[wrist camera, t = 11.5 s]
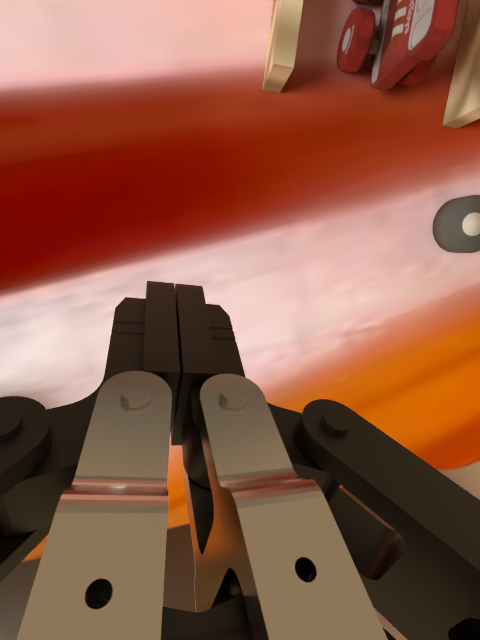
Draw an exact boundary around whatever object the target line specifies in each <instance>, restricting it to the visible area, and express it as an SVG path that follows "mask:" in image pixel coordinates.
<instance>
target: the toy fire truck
mask: <svg viewBox="0 0 480 640" xmlns="http://www.w3.org/2000/svg"><path fill="white" fill-rule="evenodd" d="M352 1H353V2H359V3H363V4H366V3H369V2H370V1H371V0H352ZM458 3H459V0H383V6H382V11H381V17H380V24H379V31H378V37H377V39H376V38H373V35H374V31H375V14H374V12H373V11H372V10H371V9H366V8H362V7H357V8H355V9H354V10H353V11H352V12H351V14H350V15H349V17H348V19H347V21H346V23H345V26H344V29H343V32H342V35H341V39H340V42H339V47H338V54H337V67H338V68H339V69H340V70H341V71H345V72H350V73H355V72H357V71H358V70H359V69H360V68H361V66H362V65H363V63H364V61H365V59H366V56H367V54H368V53H370V54H372V73H371V81H370V82H371V87H372V88H376V89H383V90H388V89H390V88H392V87H393V86H394V85H395V84H396V83H397V82H398V83H400V84H403V85H408V86H416V85H418V84H419V83H421V82H422V81H423V80H424V79H425V77H426V76H427V75H428V73H429V72H430V70H431V68H432V66H433V64H434V62H435V60H436V57H437V54H438V52H439V51H441V50H442V49H443V48H444V47H445V45H446V44H447V43H448V41H449V39H450V37H451V35H452V33H453V30H454V25H455V19H456V14H457V9H458Z"/></svg>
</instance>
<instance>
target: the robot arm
mask: <svg viewBox="0 0 480 640" xmlns="http://www.w3.org/2000/svg"><path fill="white" fill-rule="evenodd" d="M232 329H233V328H232V325H231V321H230V317H229V315H228V314H227V313H226V312H225V311H224V310H223V309H222V308H221V306H220V305H212V304H206V303H205V297H204V292H203V287H202V286H195V285H184V284H176V285H175V288H174V283H164V282H153V281H147V288H146V299H139V298H127V297H126V298H125V299H124V300H123V301H122V302H121V303H120V304H119V305H118V306H117V307H116V308H115V314H114V320H113V327H112V334H111V339H110V345H109V351H108V357H107V363H106V369H105V375H104V379H103V381H102V383H101V385H100V386H99V387H98V389H97V390H96V391H94V392H93V393H92V394H91V395H89V396H88V397H86V398H84V399H82V400H80V401H78V402H75V403H72V404H69V405H65V406H60V407H56V408H52V409H48V410H46V409H45V407H44V406H43V405H42V404H40V403H39V402H37V401H35V400H33V399H30V398H26V397H19V396H9V397H1V398H0V582H1V581H2V580H3V579H4V578H5V577H6V576H7V575H8V574H9V573H10V572H11V571H12V570H13V569H14V568H15V567H16V566H17V565H18V564H19V563H20V562H21V561H22V560H23V559H24V558H25V557H26V556H27V555H28V554H29V553H30V552H31V551H32V550H33V549H34V548H35V547H36V546H37V545H38V544H39V543H40V542H41V541H42V540H43V539H44V538H45V537H46V536H47V535H48V534H49V535H48V538H47V541H46V545H45V548H44V551H43V555H42V558H41V561H40V565H39V568H38V571H37V574H36V578H35V581H34V585H33V588H32V591H31V594H30V598H29V601H28V604H27V608H26V611H25V614H24V617H23V621H22V624H21V627H20V631H19V634H18V637H17V640H396V639H395V638H394V637H393V636H392V635H391V634H390V633H389V632H388V631H386V630H385V629H384V628H383V627H382V626H381V623H380V621H379V619H378V616H377V614H376V612H375V610H374V608H375V609H376V610H377V611H378V612H379V613H380V614H381V615H383V616H384V617H385V618H386V619H387V620H388V621H389V622H390V623H391V624H392V625H393V626H394V627H395V628H396V629H397V630H398V631H399V632H400V633H401V634H402V635H403V636H404V637H405V638H407V639H408V640H480V500H478V499H477V498H476V497H474V496H473V495H472V494H470V493H469V492H467V491H466V490H464V489H463V488H461V487H460V486H459V485H457V484H456V483H454V482H453V481H452V480H450V479H449V478H447V477H446V476H445V475H443V474H442V473H440V472H439V471H437V470H436V469H435V468H433V467H432V466H430V465H429V464H428V463H426V462H425V461H423V460H422V459H420V458H419V457H418V456H416V455H415V454H413V453H412V452H411V451H409V450H408V449H406V448H405V447H403V446H402V445H401V444H399V443H398V442H396V441H395V440H394V439H392V438H391V437H389V436H388V435H386V434H385V433H384V432H382V431H381V430H379V429H378V428H376V427H375V426H374V425H372V424H371V423H369V422H368V421H367V420H365V419H364V418H362V417H361V416H359V415H358V414H357V413H355V412H354V411H352V410H351V409H349V408H348V407H346V406H345V405H343V404H341V403H338V402H335V401H332V400H326V399H319V400H314V401H312V402H310V403H308V404H307V405H306V406H305V408H304V410H303V412H302V413H299V412H295V411H292V410H288V409H284V408H281V407H277V406H274V405H272V404H270V403H267V401H266V399H265V396H264V394H263V392H262V391H261V389H260V388H259V387H258V386H257V385H256V384H255V383H254V382H252V381H251V380H249V379H247V378H245V374H244V370H243V366H242V362H241V359H240V355H239V351H238V347H237V343H236V341H235V336H234V332H233V331H232ZM170 432H171V445H182V449H183V463H184V471H183V479H184V486H185V493H186V500H187V507H188V514H189V521H190V528H191V535H192V542H193V550H194V557H195V603H196V612H189V611H183V610H178V609H172V608H167V607H163V587H164V571H165V551H166V535H167V518H168V490H167V473H168V457H169V440H170ZM340 485H342V486H343V487H344V488H345V489H347V490H348V491H349V492H351V493H352V494H353V495H354V496H355V497H356V498H358V499H359V500H360V501H361V502H363V503H364V504H365V505H366V506H368V507H369V508H370V509H371V510H372V511H373V512H375V513H376V514H377V515H378V516H379V517H381V518H382V519H383V520H384V521H386V522H387V523H388V524H389V525H390V526H392V527H393V528H394V529H395V530H392V529H390V528H388V527H386V526H385V525H383V524H382V523H381V522H380V521H378V520H377V519H376V518H375V517H373V516H372V515H371V514H370V513H369V512H368V511H366V510H365V509H364V508H363V507H361V506H360V505H359V504H358V503H357V502H355V501H354V500H353V499H352V498H351V497H349V496H348V495H347V494H346V493H345V492H343V491H342V490H341V489H340V488H339V487H340Z"/></svg>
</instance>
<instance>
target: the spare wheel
mask: <svg viewBox="0 0 480 640" xmlns="http://www.w3.org/2000/svg"><path fill="white" fill-rule="evenodd" d="M433 235H434V239H435V241H436V242H437V244H438V245H439V246H440V247H441V248H442V249H444V250H446V251H448V252H455V253H472V252H477V251H479V250H480V196H479V195H472V196H466V197H461V198H456V199H452V200H450V201H448V202H446V203H445V204H444V205H442V207H441V208H440V209H439V210H438V212H437V213H436V215H435V218H434V221H433Z"/></svg>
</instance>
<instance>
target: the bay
mask: <svg viewBox="0 0 480 640" xmlns="http://www.w3.org/2000/svg"><path fill="white" fill-rule="evenodd" d="M302 7H303V0H274V3H273V11H272V18H271V26H270V34H269V42H268V49H267V57H266V65H265V73H264V80H263V88H262V90H265V91H270V92H276V93H280V92H281V90H282V88H283V87H284V85H285V83H286V81H287V79H288V78H289V76H290V74H291V72H292V70H293V69H294V63H295V56H296V49H297V42H298V35H299V28H300V21H301V14H302ZM479 118H480V0H468V5H467V9H466V14H465V19H464V24H463V29H462V33H461V38H460V43H459V48H458V53H457V57H456V62H455V67H454V72H453V76H452V81H451V86H450V91H449V96H448V100H447V105H446V110H445V115H444V120H443V124H442V126H447V127H452V128H460V127H462V126H464V125H466V124H468V123H471V122H473V121H475V120H477V119H479Z"/></svg>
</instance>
